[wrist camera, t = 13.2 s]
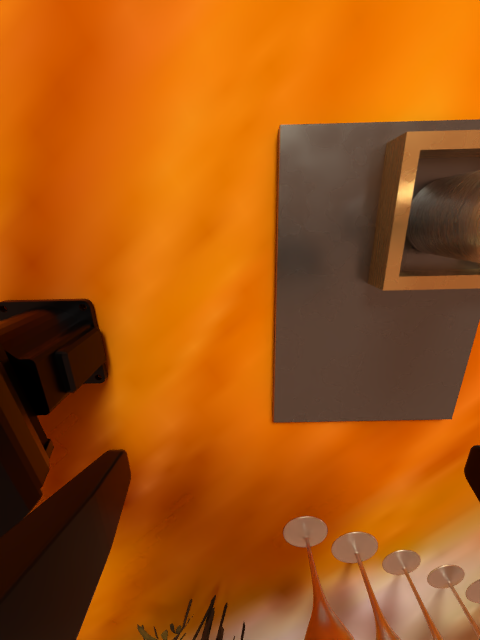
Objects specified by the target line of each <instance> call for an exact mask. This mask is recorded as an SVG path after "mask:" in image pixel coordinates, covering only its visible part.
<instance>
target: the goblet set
mask: <svg viewBox="0 0 480 640" xmlns="http://www.w3.org/2000/svg"><path fill="white" fill-rule="evenodd" d="M327 532H328V529H327V526H326V524H325V523H324V522H323V521H322V520H321V519H319V518H316V517H312V516H301V517H297V518H295V519H293V520H291V521H289V522H288V523H287V524H286V525H285V527H284V529H283V536H284V538H285V540H286V541H287V542H288V543H290V544H291V545H294V546H297V547H307V552H308V558H309V563H310V569H311V576H312V584H313V610H312V614H311V618H310V622H309V625H308V628H307V632H306V635H305V639H304V640H355V639H354V638H353V636H352V635H351V634H350V632H349V631H348V629H347V628H346V627H345V626H344V624H343V623H342V622H341V621H340V620H339V618H338V617H337V616H336V615H335V613H334V612H333V610H332V609H331V607H330V606H329V604H328V602H327V600H326V598H325V596H324V593H323V591H322V588H321V585H320V582H319V579H318V575H317V572H316V568H315V564H314V560H313V556H312V552H311V546H314V545H317V544H319V543H320V542H322V541H323V540H324V539H325V537H326V536H327ZM377 548H378V543H377V540H376V539H375V537H373V536H372V535H370V534H368V533H365V532H350V533H347V534H344V535H342V536H340V537H339V538H337V539H336V540H335V541H334V543H333V545H332V553H333V555H334V557H335V558H337V559H338V560H340V561H342V562H346V563H358V565H359V568H360V571H361V574H362V577H363V580H364V583H365V586H366V589H367V592H368V595H369V598H370V602H371V605H372V609H373V613H374V617H375V623H376V640H401V639H400V638H399V637H398V636H397V635H396V634H395V632H394V631H393V630H392V628H391V627H390V626H389V624H388V623H387V621H386V619H385V617H384V616H383V614H382V612H381V609H380V607H379V605H378V603H377V600H376V598H375V595H374V593H373V590H372V588H371V585H370V582H369V580H368V577H367V574H366V572H365V569H364V566H363V564H362V561H365V560H367V559H369V558H370V557H372V556H373V555H374V554H375V553H376V551H377ZM420 561H421V559H420V556H419V555H418V554H417V553H416V552H414V551H410V550H399V551H395V552H393V553H391V554H389V555H388V556H387V557H385V559H384V560H383V563H382V566H383V568H384V570H385V571H386V572H388V573H390V574H394V575H403V574H405V575H406V577H407V579H408V581H409V583H410V586H411V588H412V590H413V592H414V594H415V596H416V599H417V601H418V603H419V605H420V608H421V610H422V612H423V615H424V617H425V619H426V622H427V624H428V627H429V629H430V632H431V635H432V638H433V640H443V638H442V637H441V635H440V633H439V632H438V630H437V628H436V627H435V625H434V623H433V621H432V619H431V618H430V616H429V614H428V612H427V610H426V608H425V606H424V604H423V602H422V600H421V598H420V596H419V594H418V592H417V590H416V588H415V586H414V584H413V582H412V580H411V578H410V576H409V574H408V573H410V572H412V571H414V570H415V569H416V568H417V567H418V566H419V565H420ZM464 575H465V574H464V570H463V569H462V568H461V567H459V566H456V565H444V566H440V567H438V568H436V569H434V570H432V571H431V572H430V573H429V575H428V577H427V581H428V583H429V584H430V585H431V586H433V587H435V588H449V587H450V588H451V590H452V592H453V593H454V595H455V597H456V599H457V600H458V602H459V604H460V606H461V607H462V609H463V611H464V613H465V615H466V616H467V618H468V620H469V622H470V624H471V625H472V627H473V629H474V631H475V633H476V635H477V637H478V639H479V640H480V630H479V628H478V627H477V625H476V623H475V622H474V620H473V618H472V617H471V615H470V614H469V612H468V610H467V609H466V607H465V605H464V604H463V602H462V600H461V599H460V597H459V595H458V594H457V592H456V590H455V589H454V587H453V586H455V585H457V584H458V583H460V582H461V581H462V580H463V578H464ZM466 596H467V598H468V599H469V600H470V601H472V602H475V603H480V579H479V580H477V581H475V582H474V583H472V584H471V585H470V586H469V587H468V588H467V590H466Z"/></svg>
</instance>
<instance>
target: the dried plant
mask: <svg viewBox="0 0 480 640" xmlns="http://www.w3.org/2000/svg"><path fill="white" fill-rule="evenodd" d="M215 598H216V595H215V596H214V598H213V599H212V600H211V604H210V606H209V608H208V610H207V612H206V614H205V616H204V618H203V620H202V622H201V624H200V626H199V628H198V630H197V632H196V634H195V635H194V637H193V639H192V640H195V639H196V637H197V635H198V633H199V631H200V629H201V627H202V625H203V623H204V621H205V619H206V617H207V619H206V623H205V627H204V631H203V635H202V638H201V640H208V639H209V634H210V630H211V626H212V621H213V617H214V608H213V605H214V602H215ZM191 603H192V599H191V600H190V602H189V605H188V609H187V612H186V616H185V619H184V623H183V627H182V629H181V626H180V625H179V626H178V627H177V629H176V634H178V635H177V636H176V637H175V638H174V639H175V640H177V639H178V637H179V635H180V633H181V632H182V630H183V629H184V628H185V627H184V626H186V625H187V624H188V622H189V620H188V622H187V624H186V625H185V623H186V620H187V617H188V613H189V610H190V606H191ZM226 609H227V603H226V605H225V607H224V611H223V615H222V619H221V622H220V626H219V630H218V634H217V638H216V640H222V639H223V632H224V629H223V627H222V624H223V620H224V617H225V613H226ZM193 615H194V614H193ZM193 615H192V617H193ZM207 615H208V616H207ZM192 617H191V618H192ZM189 619H190V618H189ZM137 628H138V630H139V632H140V634H141V635H142V636H143V639H144V640H145V639H146V640H157V639H158V637H157V632H156V629H155V627H154V630H155V635H156V637H157V639H155V638H153V637H151V636H150V635H149V634H148V633H147V632H146V631H145V630H144V627H143V625H142V627H141V626H139V625H138V627H137ZM170 629H171V631H172V632H173V633H175V630H174V625H173V624H170ZM244 631H245V623H243V629H242V635H241V640H243V636H244ZM161 636H162V638H163V640H167V636H168V631H167V630H165V631H164V632H163V633H162V634H161ZM184 636H185V634H184V635H183V636H182V638H183V637H184ZM182 638H181V639H182ZM234 638H235V636H234ZM174 639H173V640H174ZM181 639H180V640H181ZM233 640H234V639H233Z"/></svg>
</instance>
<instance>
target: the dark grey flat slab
mask: <svg viewBox="0 0 480 640" xmlns="http://www.w3.org/2000/svg"><path fill="white" fill-rule="evenodd" d="M478 170H480V120H445V121H409V122H373V123H337V124H301V125H280V127H279V129H278V172H277V223H276V274H275V325H274V376H273V420H274V422H322V421H377V420H432V419H452V416H453V412H454V409H455V405H456V402H457V398H458V395H459V391H460V387H461V384H462V380H463V377H464V373H465V370H466V366H467V362H468V359H469V355H470V352H471V348H472V345H473V341H474V338H475V334H476V330H477V327H478V323H479V320H480V263H475V262H470V261H464V260H459V259H454V258H448V257H443V256H438V255H432V254H427V253H423V252H421V251H419V250H417V249H416V248H414V247H413V246H412V244H411V243H410V242H409V240H408V238H407V236H406V231H407V225H408V219H409V214H410V208H411V202H412V200H413V199H414V197H415V196H416V195H417V194H418V192H419V191H421V190H422V189H423V188H424V187H425V186H426V185H428V184H429V183H431V182H433V181H435V180H437V179H440V178H444V177H449V176H454V175H459V174H464V173H468V172H473V171H478Z"/></svg>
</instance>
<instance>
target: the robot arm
mask: <svg viewBox="0 0 480 640" xmlns="http://www.w3.org/2000/svg"><path fill="white" fill-rule="evenodd" d="M82 304H84V305H86V307H87V309H84V308H83V306H82ZM4 306H5V307H6V308H7V310H6V309H5V308H4ZM105 361H106V357H105V352H104V347H103V342H102V337H101V332H100V329H99V328H98V327H97V322H96V317H95V312H94V308H93V304H92V302H91V301H90V300H88V299H53V300H8V301H2V302H0V640H76V639H77V636H78V634H79V631H80V629H81V626H82V623H83V621H84V618H85V616H86V613H87V610H88V608H89V605H90V603H91V600H92V597H93V595H94V592H95V590H96V587H97V584H98V582H99V579H100V577H101V574H102V571H103V569H104V566H105V564H106V561H107V558H108V555H109V553H110V550H111V546H112V543H113V540H114V537H115V533H116V530H117V526H118V523H119V519H120V516H121V512H122V509H123V505H124V502H125V498H126V495H127V491H128V488H129V484H130V479H131V472H130V467H129V462H128V457H127V453H126V451H125V450H123V449H120V450H109V451H107V452H106V453H104V454H103V455H102V456H101V457H99V458H98V459H97V460H96V461H94V462H93V463H92V464H91V465H89V466H88V467H87V468H86V469H84V470H83V471H82V472H81V473H79V474H78V475H77V476H76V477H74V478H73V479H72V480H71V481H70V482H68V483H67V484H66V485H65V486H63V487H62V488H61V489H60V490H58V491H57V492H56V493H55V494H53V495H52V496H51V497H50V498H48V499H47V500H46V501H45V502H43V503H42V504H41V505H40V506H38V507H37V508H36V509H35V510H34V511H32V509H33V508H34V507H35V505H36V504H37V503H38V501H39V500H40V498H41V497H42V495H43V494H42V491H41V487H42V486H43V483H44V481H45V479H46V476H47V474H48V472H49V458H50V455H51V453H52V450H53V448H54V446H53V444H52V442H51V440H50V439H47V437H46V435H45V433H44V431H43V428H42V426H41V424H40V422H39V420H38V418H37V415H47V414H49V413H50V412H51V411H52V410H53V409H54V408H55V407H56V406H57V405H58V404H59V403H60V402H61V401H62V400H63V399H64V398H65V397H66V396H67V395H68V394H69V393H74V392H75V391H76V390H77V389H78V388H79V387H80V386H81V385H82V384H84V383H102V382H104V381H105V380H106V378H107V370H106V365H105ZM98 375H101V377H102V378H101V377H99V376H98ZM464 473H465V477H466V479H467V481H468V483H469V485H470V486H471V488H472V490H473V491H474V493H475V495H476V496H477V498H478V500H479V502H480V445H476V446H473V447H472V448H471V450H470V453H469V456H468V459H467V462H466V465H465V468H464ZM31 511H32V512H31ZM30 512H31V513H30ZM29 513H30V514H29ZM28 514H29V515H28Z"/></svg>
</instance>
